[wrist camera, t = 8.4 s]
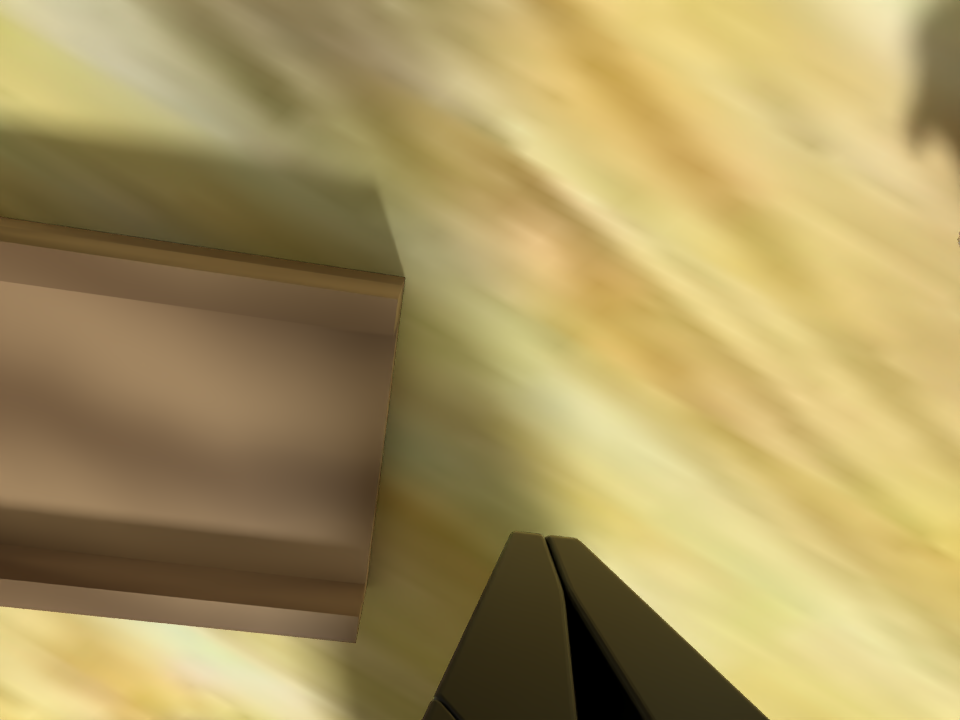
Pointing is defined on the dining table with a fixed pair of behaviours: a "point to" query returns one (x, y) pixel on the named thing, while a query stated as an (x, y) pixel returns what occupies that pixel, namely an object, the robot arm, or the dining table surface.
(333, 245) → the dining table surface
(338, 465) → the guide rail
